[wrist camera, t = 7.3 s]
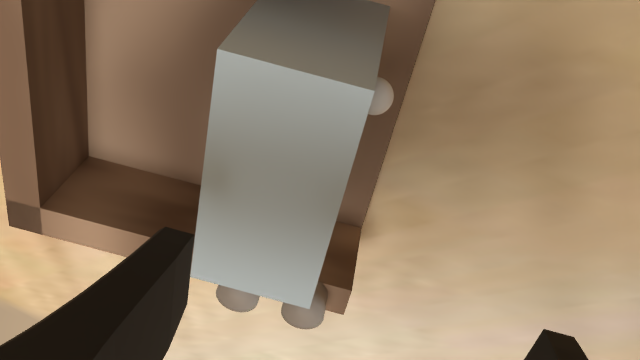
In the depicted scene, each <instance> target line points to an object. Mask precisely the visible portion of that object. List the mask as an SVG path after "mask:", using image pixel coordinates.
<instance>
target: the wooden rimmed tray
mask: <svg viewBox="0 0 640 360" xmlns="http://www.w3.org/2000/svg"><path fill="white" fill-rule="evenodd" d="M256 1H257V0H0V160H1V168H2V175H3V183H4V190H5V198H6V205H7V213H8V220H9V226H12V227H15V228H19V229H23V230H27V231H30V232H34V233H38V234H42V235H45V236H49V237H53V238H57V239H60V240H64V241H68V242H72V243H76V244H79V245H83V246H87V247H91V248H94V249H98V250H102V251H106V252H109V253H113V254H117V255H121V256H124V257H128V256H129V255H131V254H132V253H133V252H134V251H135V250H137V249H138V248H139V247H140V246H141V245H142V244H144V243H145V242H146V241H147V240H148V239H149V238H151V237H152V236H153V235H154V234H155V233H156V232H157V231H158V230H160V229H162V228H164V227H169V228H172V229H176V230H180V231H184V232H187V233H191V234H194V241H195V232H196V224H197V216H198V207H199V199H200V190H201V182H202V173H203V165H204V156H205V148H206V140H207V131H208V123H209V114H210V106H211V97H212V89H213V80H214V72H215V64H216V55H217V49H218V47H219V46H220V45H221V44H222V42H223V41H224V40H225V39H226V38H227V36H228V35H229V34H230V33H231V32H232V30H233V29H234V28H235V27H236V25H237V24H238V23H239V22H240V21H241V19H242V18H243V17H244V16H245V15H246V13H247V12H248V11H249V10H250V9H251V7H252V6H253V5H254V4H255V2H256ZM369 1H372V2H376V3H380V4H384V5H387V6H390V10H389V15H388V21H387V26H386V32H385V37H384V43H383V48H382V54H381V59H380V65H379V70H378V76H377V77H380V78H383V79H385V80H386V81H387V82H388V83H389V84H390V85H391V87H392V89H393V93H394V98H393V102H392V105H391V106H390V108H389V109H388V110H387V111H385V112H384V113H382V114H379V115H369V114H368V115H367V118H366V122H365V125H364V128H363V132H362V135H361V139H360V142H359V145H358V149H357V152H356V155H355V159H354V162H353V165H352V169H351V172H350V175H349V179H348V182H347V185H346V189H345V192H344V195H343V199H342V202H341V205H340V209H339V212H338V216H337V219H336V222H335V226H334V229H333V232H332V236H331V239H330V242H329V246H328V249H327V252H326V256H325V259H324V262H323V266H322V269H321V272H320V276H319V279H318V283H317V286H316V289H315V293H314V296H313V299H312V303H311V306H310V309H307V308H303V307H299V306H295V305H292V304H288V303H284V302H283V305H282V309H281V313H282V316H283V318H284V320H285V321H286V322H287V323H289V324H290V325H292V326H294V327H296V328H300V329H312V328H315V327H317V326H319V325H320V324H321V323H322V321H323V318H324V313H325V310H327V311H331V312H335V313H339V314H342V315H344V312H345V309H346V306H347V303H348V300H349V297H350V294H351V291H352V285H353V279H354V273H355V266H356V260H357V253H358V247H359V241H360V234H361V228H362V225H363V222H364V219H365V216H366V212H367V209H368V206H369V203H370V200H371V197H372V194H373V191H374V188H375V185H376V182H377V179H378V175H379V172H380V169H381V166H382V163H383V160H384V157H385V154H386V151H387V148H388V145H389V142H390V139H391V135H392V132H393V129H394V126H395V123H396V120H397V117H398V114H399V111H400V108H401V105H402V102H403V98H404V95H405V92H406V89H407V86H408V83H409V80H410V77H411V74H412V71H413V68H414V65H415V62H416V58H417V55H418V52H419V49H420V46H421V43H422V40H423V37H424V34H425V31H426V28H427V25H428V22H429V18H430V15H431V12H432V9H433V6H434V3H435V0H369ZM193 249H194V243H193ZM192 258H193V252H192ZM191 266H192V262H191ZM190 274H191V271H190ZM216 296H217V298H218V300H219V302H220V303H221V304H222V305H223V306H225V307H226V308H228V309H230V310H232V311H236V312H248V311H250V310H252V309H254V308H255V307H256V305H257V303H258V300H259V297H260V296H259V295H255V294H251V293H248V292H244V291H240V290H237V289H233V288H229V287H225V286H222V285H218V288H217V290H216Z"/></svg>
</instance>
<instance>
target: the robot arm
mask: <svg viewBox="0 0 640 360" xmlns="http://www.w3.org/2000/svg"><path fill="white" fill-rule="evenodd" d="M193 243H194V234H191V233H187V232H184V231H180V230H176V229H172V228H169V227H164V228H162V229H160V230H158V231H157V232H156V233H155V234H154V235H153V236H152V237H151V238H149V239H148V240H147V241H146V242H145V243H144V244H142V245H141V246H140V247H139V248H138V249H137V250H135V251H134V252H133V253H132V254H131V255H129V256H128V257H127V258H126V259H124V260H123V261H122V262H121V263H119V264H118V265H117V266H116V267H115V268H113V269H112V270H111V271H109V272H108V273H107V274H105V275H104V276H103V277H101V278H100V279H99V280H98V281H96V282H95V283H94V284H92V285H91V286H90V287H88V288H87V289H86V290H84V291H83V292H82V293H80V294H79V295H78V296H76V297H75V298H73V299H72V300H70V301H69V302H67V303H66V304H65V305H63V306H62V307H60V308H59V309H57V310H56V311H54V312H53V313H51V314H50V315H48V316H47V317H46V318H44V319H43V320H41V321H40V322H38V323H37V324H35V325H33V326H32V327H30V328H29V329H27V330H25V331H24V332H22V333H21V334H19V335H17V336H16V337H14V338H13V339H11V340H9V341H7V342H6V343H4V344H2V345H1V346H0V360H163V358H164V356H165V355H166V353H167V351H168V349H169V347H170V344H171V342H172V340H173V337H174V335H175V332H176V330H177V328H178V325H179V323H180V320H181V318H182V315H183V313H184V310H185V308H186V305H187V299H188V290H189V281H190V271H191V262H192V252H193ZM524 360H588V358H587V357H586V355H585V353H584V352H583V350H582V349H581V347H580V346H579V344H578V343H577V341H576V340H575V338H574V337H571V336H568V335H564V334H560V333H557V332H553V331H549V330H545V329H544V330H543V331H542V333H541V334H540V336H539V337H538V339H537V341H536V342H535V344H534V345H533V347H532V348H531V350H530V351H529V353H528V354H527V356H526V358H525V359H524Z"/></svg>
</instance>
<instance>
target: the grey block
mask: <svg viewBox="0 0 640 360" xmlns="http://www.w3.org/2000/svg"><path fill="white" fill-rule="evenodd" d="M389 10H390V6H387V5H384V4H380V3H376V2H372V1H369V0H257V1H256V2H255V4H254V5H253V6H252V7H251V9H250V10H249V11H248V12H247V13H246V15H245V16H244V17H243V18H242V19H241V21H240V22H239V23H238V24H237V25H236V27H235V28H234V29H233V30H232V32H231V33H230V34H229V35H228V36H227V38H226V39H225V40H224V41H223V42H222V44H221V45H220V46H219V47H218V49H217V55H216V64H215V72H214V80H213V89H212V97H211V106H210V114H209V123H208V131H207V140H206V148H205V156H204V165H203V173H202V182H201V190H200V199H199V207H198V216H197V224H196V232H195V241H194V249H193V258H192V266H191V275H190V277H192V278H196V279H200V280H203V281H207V282H211V283H214V284H218V285H222V286H225V287H229V288H233V289H237V290H240V291H244V292H248V293H251V294H255V295H259V296H262V297H266V298H270V299H273V300H277V301H281V302H284V303H288V304H292V305H295V306H299V307H303V308H307V309H310V306H311V303H312V299H313V296H314V293H315V289H316V286H317V283H318V279H319V276H320V272H321V269H322V266H323V262H324V259H325V256H326V252H327V249H328V246H329V242H330V239H331V236H332V232H333V229H334V226H335V222H336V219H337V216H338V212H339V209H340V205H341V202H342V199H343V195H344V192H345V189H346V185H347V182H348V179H349V175H350V172H351V169H352V165H353V162H354V159H355V155H356V152H357V149H358V145H359V142H360V139H361V135H362V132H363V128H364V125H365V122H366V118H367V115H368V114H369V115H379V114H382V113H384V112H385V111H387V110H388V109H389V108H390V106H391V105H392V102H393V98H394V93H393V89H392V87H391V85H390V84H389V83H388V82H387V81H386V80H385V79H383V78H380V77H377V76H378V70H379V65H380V59H381V54H382V48H383V43H384V37H385V32H386V26H387V21H388V15H389Z"/></svg>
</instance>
